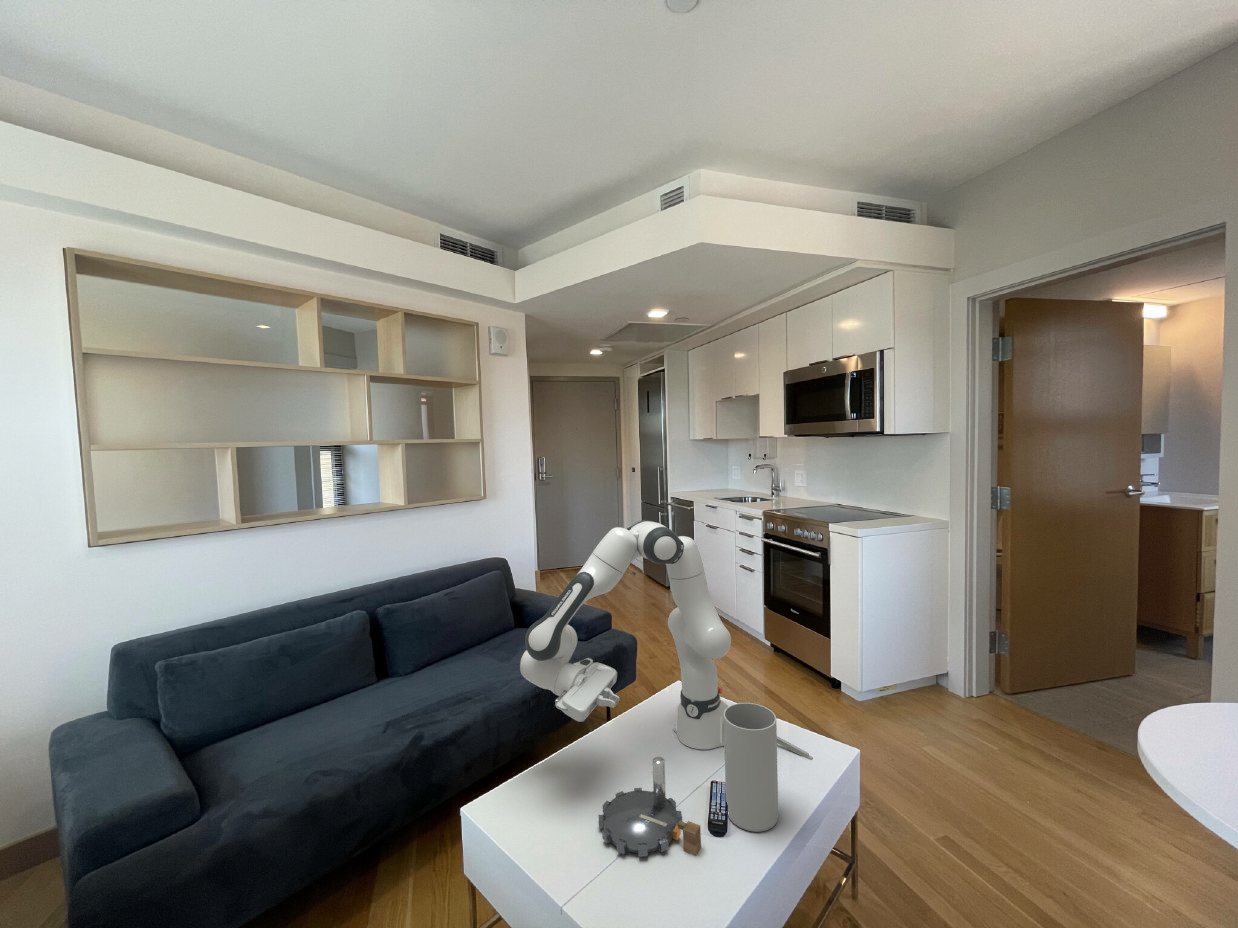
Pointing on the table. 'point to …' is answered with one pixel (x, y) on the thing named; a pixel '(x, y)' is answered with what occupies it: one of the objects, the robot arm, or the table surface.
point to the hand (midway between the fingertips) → (616, 702)
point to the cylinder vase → (751, 766)
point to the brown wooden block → (690, 837)
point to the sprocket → (642, 817)
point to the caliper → (793, 748)
